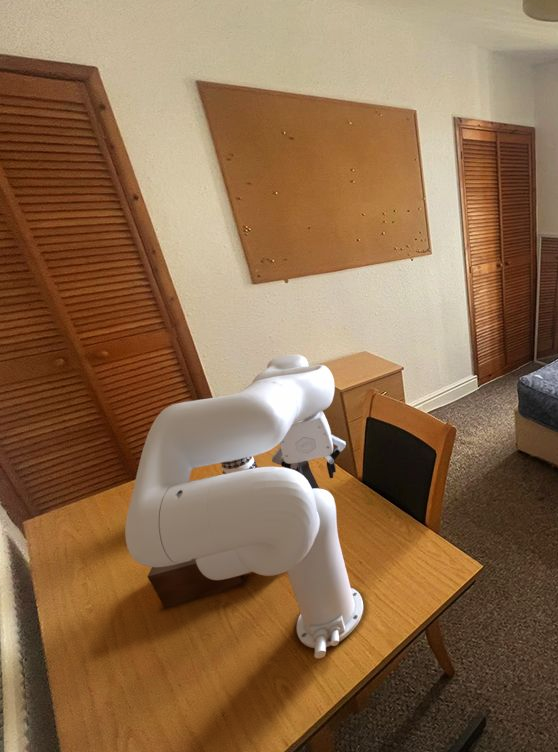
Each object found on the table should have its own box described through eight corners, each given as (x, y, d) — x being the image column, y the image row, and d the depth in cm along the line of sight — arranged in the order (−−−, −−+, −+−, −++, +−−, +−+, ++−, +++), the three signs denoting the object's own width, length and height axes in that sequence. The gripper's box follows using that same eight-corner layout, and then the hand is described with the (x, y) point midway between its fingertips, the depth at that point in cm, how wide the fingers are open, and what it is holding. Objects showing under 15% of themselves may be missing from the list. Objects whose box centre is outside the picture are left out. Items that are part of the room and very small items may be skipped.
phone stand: (323, 496, 117) (314, 462, 112) (304, 509, 112) (294, 474, 107) (304, 486, 121) (295, 453, 116) (285, 498, 116) (274, 464, 111)
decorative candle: (251, 495, 117) (225, 421, 108) (220, 495, 118) (192, 421, 108) (269, 475, 126) (247, 405, 116) (240, 475, 126) (215, 405, 116)
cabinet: (253, 543, 101) (242, 514, 97) (243, 585, 90) (230, 554, 86) (183, 562, 96) (169, 532, 92) (164, 608, 85) (147, 576, 82)
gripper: (250, 427, 81) (273, 498, 88) (342, 411, 87) (356, 478, 94) (257, 410, 87) (277, 477, 95) (341, 396, 93) (355, 460, 100)
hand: (316, 477), depth 94 cm, fingers open, 5 cm apart
